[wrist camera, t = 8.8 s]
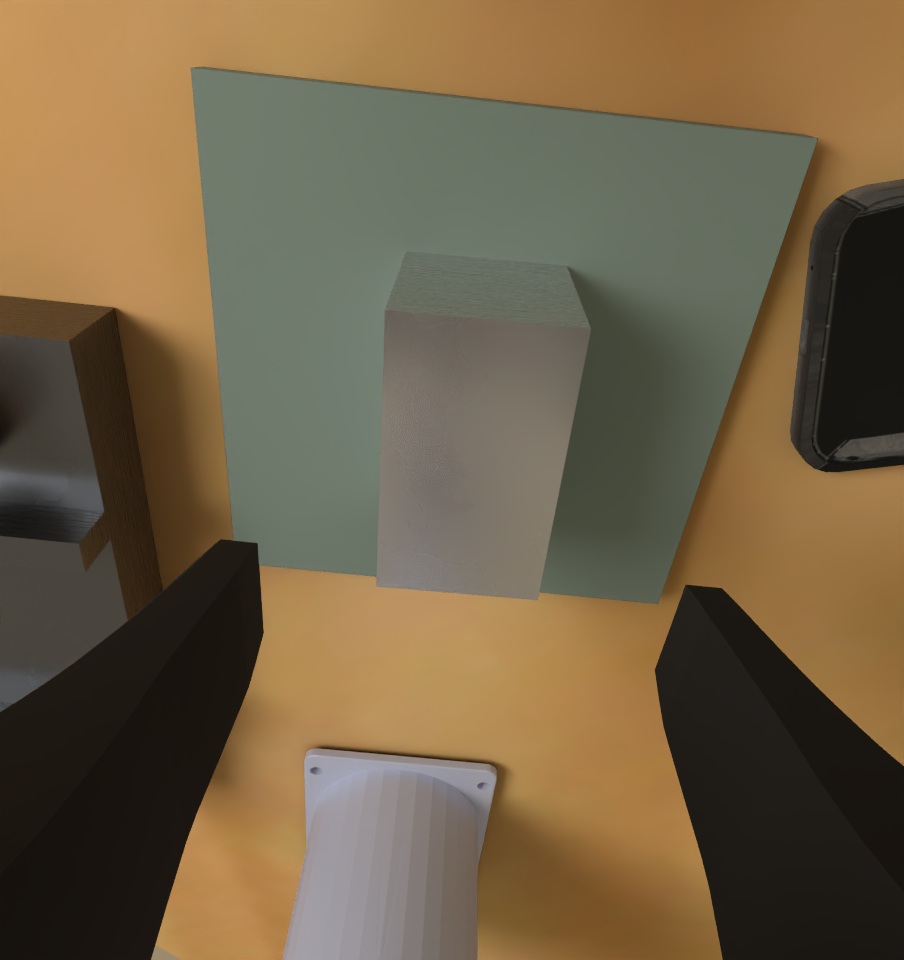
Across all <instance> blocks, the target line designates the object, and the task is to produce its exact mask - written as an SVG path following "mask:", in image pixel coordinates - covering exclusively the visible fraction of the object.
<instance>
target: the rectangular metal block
mask: <svg viewBox="0 0 904 960" xmlns="http://www.w3.org/2000/svg"><path fill="white" fill-rule="evenodd" d="M590 333H591V327H590V325H589V322H588V320H587V317H586V314H585V312H584V309H583V307H582V304H581V302H580V299H579V296H578V294H577V291H576V289H575V286H574V283H573V281H572V278H571V276H570V273H569V271H568V268H567V266H563V265H552V264H541V263H531V262H520V261H509V260H498V259H488V258H477V257H466V256H455V255H444V254H434V253H423V252H412V251H406V253H405V255H404V258H403V261H402V264H401V267H400V269H399V272H398V275H397V278H396V281H395V283H394V286H393V289H392V292H391V294H390V297H389V300H388V303H387V306H386V308H385V321H384V354H383V386H382V419H381V451H380V484H379V516H378V548H377V581H376V586H379V587H390V588H402V589H414V590H425V591H437V592H449V593H460V594H472V595H484V596H495V597H507V598H519V599H530V600H538V596H539V591H540V586H541V581H542V575H543V570H544V565H545V560H546V555H547V550H548V545H549V540H550V535H551V530H552V525H553V520H554V515H555V510H556V505H557V500H558V495H559V489H560V484H561V479H562V474H563V469H564V464H565V459H566V454H567V449H568V444H569V439H570V434H571V429H572V424H573V419H574V414H575V409H576V403H577V398H578V393H579V388H580V383H581V378H582V373H583V368H584V363H585V358H586V353H587V348H588V343H589V338H590Z"/></svg>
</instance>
